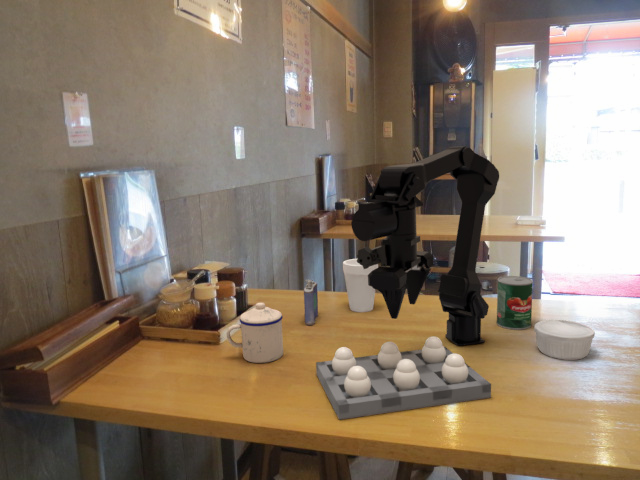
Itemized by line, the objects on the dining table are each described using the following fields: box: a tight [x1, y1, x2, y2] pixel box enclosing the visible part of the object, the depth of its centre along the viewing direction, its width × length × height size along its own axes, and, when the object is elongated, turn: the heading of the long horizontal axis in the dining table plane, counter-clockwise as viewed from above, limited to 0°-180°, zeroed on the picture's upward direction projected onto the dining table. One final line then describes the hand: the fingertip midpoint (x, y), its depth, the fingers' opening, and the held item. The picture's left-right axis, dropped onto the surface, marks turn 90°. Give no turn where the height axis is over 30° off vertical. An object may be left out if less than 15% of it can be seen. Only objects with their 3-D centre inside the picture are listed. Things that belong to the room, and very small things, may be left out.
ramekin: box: [533, 319, 595, 361], centre depth 108 cm, size 11×11×5 cm
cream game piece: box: [393, 359, 420, 392], centre depth 91 cm, size 5×5×6 cm
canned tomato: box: [496, 275, 534, 331], centre depth 125 cm, size 8×8×11 cm
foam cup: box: [342, 258, 379, 313], centre depth 142 cm, size 10×9×13 cm
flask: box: [303, 279, 319, 327], centre depth 134 cm, size 9×3×11 cm, turn 172°
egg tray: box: [315, 335, 492, 421], centre depth 96 cm, size 18×27×7 cm, turn 102°
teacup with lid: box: [226, 302, 284, 364], centre depth 112 cm, size 12×9×12 cm
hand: (403, 310), depth 102 cm, fingers open, 9 cm apart
